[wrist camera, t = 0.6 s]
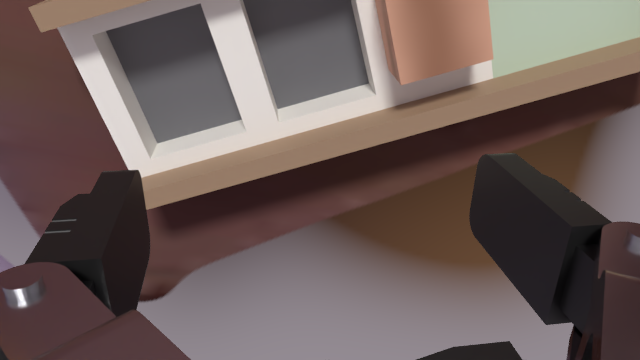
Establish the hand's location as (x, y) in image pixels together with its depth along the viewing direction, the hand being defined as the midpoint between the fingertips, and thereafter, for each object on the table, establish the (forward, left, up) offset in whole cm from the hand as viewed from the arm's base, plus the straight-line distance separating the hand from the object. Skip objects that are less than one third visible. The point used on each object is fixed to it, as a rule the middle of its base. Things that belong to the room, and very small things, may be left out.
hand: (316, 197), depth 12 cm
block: (-8, +1, -18) cm, 20 cm away
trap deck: (-6, +1, -21) cm, 22 cm away
